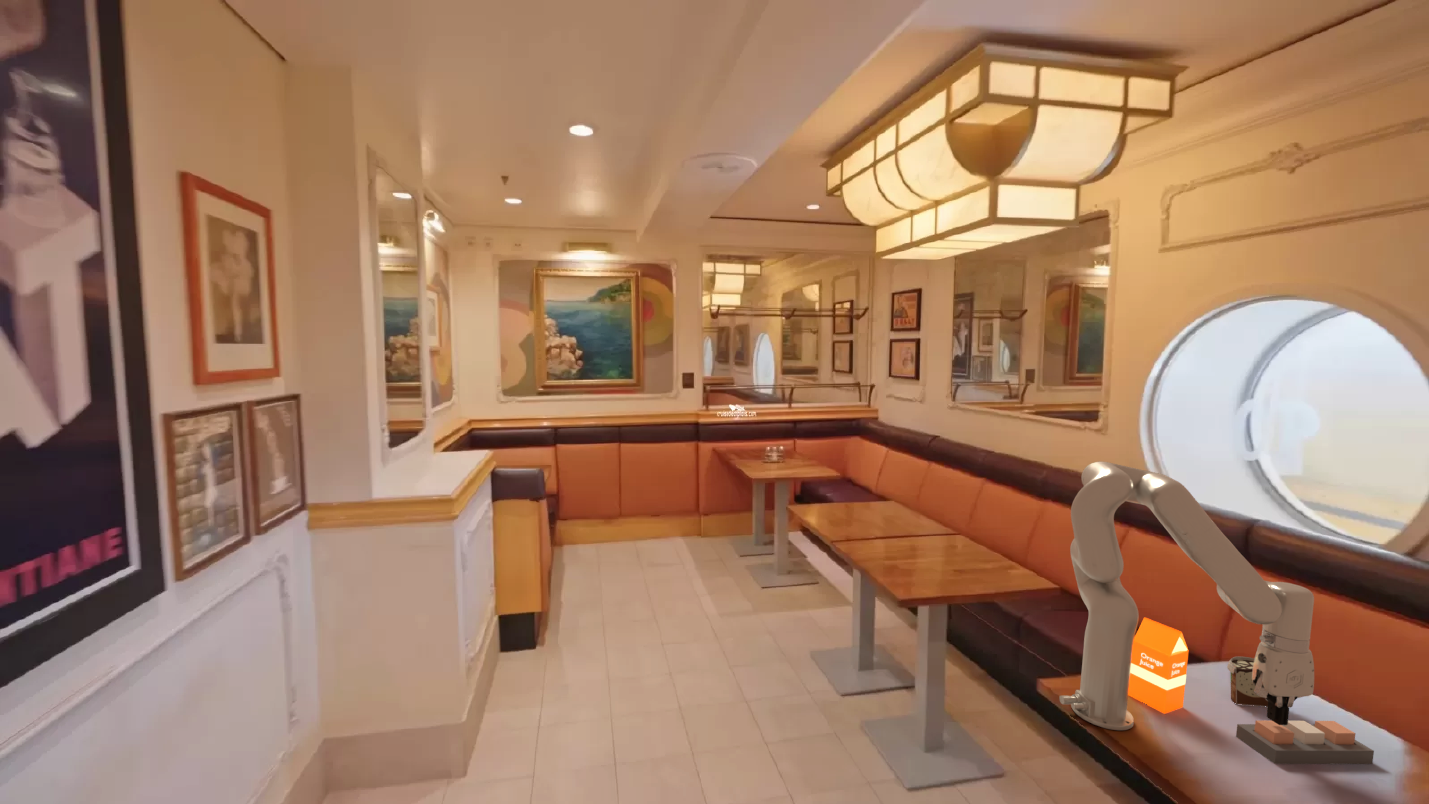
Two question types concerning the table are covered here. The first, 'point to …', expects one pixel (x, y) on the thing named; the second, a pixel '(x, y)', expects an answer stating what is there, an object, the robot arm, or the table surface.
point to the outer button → (1336, 732)
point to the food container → (1244, 682)
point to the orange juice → (1158, 666)
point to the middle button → (1306, 732)
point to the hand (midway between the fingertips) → (1276, 721)
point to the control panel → (1305, 750)
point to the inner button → (1273, 732)
